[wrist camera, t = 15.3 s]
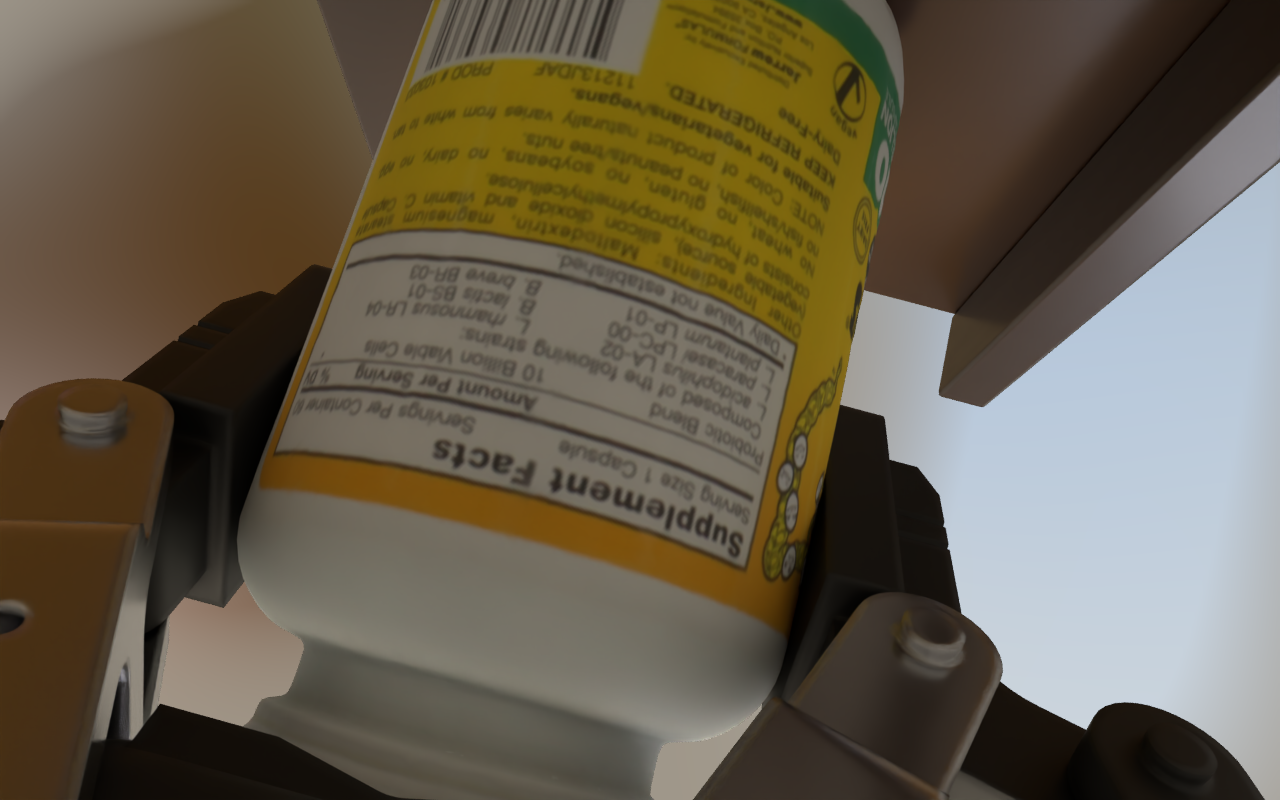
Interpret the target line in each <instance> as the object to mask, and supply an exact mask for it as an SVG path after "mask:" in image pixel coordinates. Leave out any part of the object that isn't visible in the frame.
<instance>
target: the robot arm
mask: <svg viewBox="0 0 1280 800" xmlns="http://www.w3.org/2000/svg"><path fill="white" fill-rule="evenodd" d="M331 272H332V269H331V268H327V267H323V266H319V265H315V264H314V265H311V266H310V267H309V268H308V269H306V270H305V271H304V272H303V273H302V274H300V275H299V276H298V277H297V278H295V279H294V280H293V281H292V282H291V283H289V284H288V285H287V286H286V287H285V288H284V289H282V290H281V291H280V292H279V293H277V294H276V295H274V294H270V293H266V292H263V291H259V292H256V293H252V294H249V295H246V296H243V297H239V298H236V299H233V300H230V301H227V302H223V303H222V304H220V305H219V306H218V307H216V308H215V309H214V310H213V311H212V312H210V313H209V314H207V315H206V316H205V317H203V318H202V319H201V320H200V321H199V322H198V326H196V325H193V326H192V327H191V328H189V329H188V330H187V331H185V332H184V333H183V334H181V335H180V336H179V339H178V341H172V342H171V343H170V344H168V345H167V346H166V347H165V348H163V349H162V350H161V351H159V352H158V353H157V354H155V355H154V356H153V357H152V358H151V359H149V360H148V361H147V362H145V363H144V364H143V365H141V366H140V367H139V368H138V369H136V370H135V371H133V372H132V373H131V374H130V375H128V376H127V377H126V378H124V379H123V380H122V381H120V380H111V379H94V378H93V379H92V378H91V379H75V380H68V381H62V382H57V383H53V384H49V385H46V386H43V387H40V388H38V389H36V390H33V391H31V392H29V393H27V394H26V395H24V396H23V397H21V398H20V399H19V400H18V401H17V402H16V403H14V404H13V406H12V407H11V409H10V411H9V413H8V415H7V417H6V419H5V420H0V800H426V799H410V798H399V797H394V796H390V795H387V794H384V793H382V792H380V791H378V790H376V789H374V788H372V787H370V786H369V785H367V784H365V783H363V782H361V781H359V780H358V779H356V778H354V777H352V776H350V775H348V774H347V773H345V772H343V771H341V770H339V769H337V768H336V767H334V766H332V765H330V764H328V763H326V762H324V761H323V760H321V759H319V758H317V757H315V756H313V755H312V754H310V753H308V752H306V751H304V750H302V749H301V748H299V747H297V746H295V745H293V744H291V743H289V742H288V741H286V740H284V739H282V738H280V737H278V736H275V735H271V734H267V733H264V732H260V731H257V730H253V729H249V728H246V727H242V726H239V725H235V724H231V723H227V722H224V721H221V720H217V719H213V718H210V717H206V716H202V715H199V714H195V713H191V712H188V711H184V710H181V709H177V708H174V707H170V706H166V705H163V704H160V705H159V706H158V702H159V695H160V690H161V684H162V678H163V672H164V666H165V660H166V655H167V649H168V643H169V615H170V614H171V613H172V611H173V610H174V609H175V608H176V607H177V605H178V604H179V603H180V602H181V601H182V599H183V598H184V597H186V598H190V599H194V600H197V601H201V602H204V603H208V604H212V605H215V606H219V607H223V608H224V607H225V606H226V604H227V603H228V602H229V600H230V599H231V598H232V596H233V595H234V594H235V593H236V591H237V590H238V589H239V588H240V586H241V585H242V584H243V582H244V579H243V576H242V572H241V568H240V565H239V560H238V548H237V535H238V527H239V519H240V515H241V512H242V509H243V506H244V504H245V501H246V498H247V495H248V493H249V490H250V487H251V484H252V481H253V479H254V476H255V473H256V470H257V468H258V465H259V462H260V459H261V457H262V454H263V451H264V448H265V446H266V443H267V441H268V438H269V436H270V433H271V431H272V428H273V425H274V423H275V420H276V418H277V415H278V413H279V410H280V408H281V405H282V402H283V400H284V397H285V394H286V392H287V389H288V386H289V384H290V381H291V378H292V376H293V373H294V370H295V368H296V365H297V363H298V360H299V357H300V355H301V352H302V349H303V347H304V344H305V341H306V339H307V336H308V333H309V331H310V328H311V325H312V323H313V320H314V317H315V315H316V312H317V309H318V307H319V304H320V301H321V299H322V296H323V293H324V291H325V288H326V285H327V283H328V280H329V277H330V274H331ZM943 525H944V517H943V512H942V507H941V501H940V496H939V494H938V493H937V492H936V490H935V489H934V488H933V486H932V485H931V484H930V483H929V481H928V480H927V479H926V477H925V476H924V475H923V474H922V472H921V471H920V470H919V469H918V468H917V467H915V466H911V465H907V464H904V463H899V462H896V461H892V460H889V452H888V443H887V435H886V425H885V419H884V417H883V416H881V415H877V414H873V413H869V412H865V411H861V410H858V409H854V408H851V407H847V406H843V405H840V406H839V411H838V416H837V421H836V426H835V431H834V435H833V440H832V445H831V449H830V454H829V459H828V463H827V468H826V473H825V477H824V482H823V489H822V494H821V498H820V501H819V506H818V512H817V517H816V521H815V524H814V528H813V533H812V537H811V541H810V545H809V550H808V554H807V559H806V564H805V569H804V574H803V579H802V583H801V587H800V592H799V596H798V601H797V605H796V609H795V614H794V618H793V623H792V627H791V632H790V637H789V641H788V646H787V650H786V653H785V657H784V661H783V664H782V668H781V671H780V673H779V676H778V678H777V681H776V683H775V685H774V686H773V688H772V690H771V691H770V693H769V695H768V696H767V698H766V699H765V700H764V702H763V703H762V710H761V711H760V713H759V714H758V715H757V716H756V718H755V719H754V720H753V722H752V723H751V724H750V726H749V727H748V728H747V730H746V731H745V732H744V734H743V735H742V736H741V737H740V739H739V740H738V742H737V743H736V744H735V745H734V747H733V748H732V749H731V751H730V752H729V753H728V754H727V756H726V757H725V758H724V760H723V761H722V762H721V764H720V765H719V766H718V768H717V769H716V770H715V772H714V773H713V774H712V776H711V777H710V778H709V779H708V781H707V782H706V783H705V785H704V786H703V788H702V789H701V790H700V791H699V793H698V794H697V795H696V797H695V798H694V799H693V800H1265V799H1264V798H1263V796H1262V795H1261V794H1260V792H1259V791H1258V789H1257V788H1256V786H1255V785H1254V783H1253V782H1252V780H1251V779H1250V777H1249V776H1248V774H1247V773H1246V771H1245V770H1244V769H1243V768H1242V766H1241V765H1240V764H1239V762H1238V761H1237V760H1236V759H1235V758H1234V757H1233V756H1232V755H1231V754H1230V753H1229V752H1228V750H1226V749H1225V748H1224V747H1223V746H1222V745H1221V744H1220V743H1218V742H1217V741H1216V740H1215V739H1213V738H1212V737H1211V736H1209V735H1208V734H1207V733H1205V732H1204V731H1202V730H1201V729H1199V728H1198V727H1196V726H1195V725H1193V724H1191V723H1189V722H1188V721H1186V720H1184V719H1182V718H1180V717H1178V716H1176V715H1174V714H1171V713H1169V712H1166V711H1164V710H1161V709H1158V708H1155V707H1151V706H1148V705H1143V704H1138V703H1125V702H1124V703H1114V704H1111V705H1108V706H1105V707H1104V708H1102V709H1100V710H1099V711H1098V712H1097V714H1096V715H1095V716H1094V717H1093V719H1092V721H1091V723H1090V724H1089V726H1088V728H1087V730H1085V729H1083V728H1081V727H1079V726H1077V725H1075V724H1073V723H1071V722H1069V721H1067V720H1065V719H1063V718H1061V717H1059V716H1057V715H1055V714H1053V713H1051V712H1049V711H1047V710H1045V709H1043V708H1041V707H1039V706H1037V705H1035V704H1033V703H1032V702H1029V701H1028V700H1026V699H1024V698H1022V697H1021V696H1020V695H1018V694H1016V693H1015V692H1013V691H1012V690H1010V689H1009V688H1008V687H1007V686H1005V685H1004V684H1003V683H1001V682H1000V680H1001V676H1002V673H1003V668H1002V661H1001V657H1000V654H999V653H998V651H997V649H996V647H995V645H994V644H993V642H992V641H991V640H990V638H989V637H988V636H987V635H986V634H985V633H984V632H983V631H982V630H981V628H979V627H978V626H977V625H976V624H975V623H973V622H972V621H971V620H970V619H968V618H967V617H965V616H964V615H962V614H961V608H960V603H959V598H958V592H957V587H956V582H955V576H954V571H953V565H952V560H951V555H950V550H948V549H947V548H948V539H947V533H946V528H945V527H943Z"/></svg>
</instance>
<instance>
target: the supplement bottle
mask: <svg viewBox="0 0 1280 800" xmlns="http://www.w3.org/2000/svg"><path fill="white" fill-rule="evenodd" d="M903 96H904V70H903V53H902V46H901V41H900V37H899V32H898V28H897V24H896V21H895V19H894V16H893V13H892V11H891V9H890V7H889V5H888V4H887V2H886V0H433V1H432V4H431V6H430V9H429V12H428V14H427V17H426V20H425V22H424V25H423V28H422V30H421V33H420V36H419V39H418V41H417V44H416V47H415V49H414V52H413V55H412V57H411V60H410V63H409V65H408V68H407V71H406V73H405V76H404V79H403V82H402V84H401V87H400V90H399V92H398V95H397V98H396V100H395V103H394V106H393V108H392V111H391V114H390V116H389V119H388V122H387V124H386V127H385V130H384V132H383V135H382V138H381V140H380V143H379V146H378V148H377V151H376V154H375V156H374V159H373V162H372V164H371V167H370V170H369V172H368V175H367V178H366V180H365V183H364V186H363V189H362V191H361V194H360V197H359V199H358V202H357V205H356V207H355V210H354V213H353V216H352V218H351V221H350V224H349V226H348V229H347V232H346V234H345V237H344V240H343V242H342V245H341V248H340V250H339V253H338V256H337V258H336V261H335V264H334V267H333V269H332V272H331V274H330V277H329V280H328V283H327V285H326V288H325V291H324V293H323V296H322V299H321V301H320V304H319V307H318V309H317V312H316V315H315V317H314V320H313V323H312V325H311V328H310V331H309V333H308V336H307V339H306V341H305V344H304V347H303V349H302V352H301V355H300V357H299V360H298V363H297V365H296V368H295V370H294V373H293V376H292V378H291V381H290V384H289V386H288V389H287V392H286V394H285V397H284V400H283V402H282V405H281V408H280V410H279V413H278V415H277V418H276V420H275V423H274V425H273V428H272V431H271V433H270V436H269V438H268V441H267V443H266V446H265V448H264V451H263V454H262V457H261V459H260V462H259V465H258V468H257V470H256V473H255V476H254V479H253V481H252V484H251V487H250V490H249V493H248V495H247V498H246V501H245V504H244V506H243V509H242V512H241V515H240V519H239V527H238V535H237V548H238V560H239V565H240V568H241V572H242V576H243V579H244V581H245V583H246V585H247V587H248V590H249V592H250V594H251V595H252V597H253V599H254V600H255V601H256V603H257V605H258V606H259V608H260V609H261V610H262V611H263V612H264V613H265V614H266V616H267V617H268V618H269V619H270V620H271V621H272V622H274V623H275V624H276V625H278V626H279V627H281V628H283V629H284V630H286V631H288V632H290V633H291V634H293V635H295V636H297V637H298V638H299V639H301V640H302V642H303V644H304V651H303V654H302V657H301V660H300V663H299V666H298V669H297V672H296V675H295V677H294V680H293V683H292V686H291V687H290V689H289V691H288V692H287V693H286V694H285V695H282V696H277V697H268V698H265V699H262V700H261V702H260V703H259V705H258V707H257V709H256V711H255V714H254V716H253V717H252V719H251V720H250V721H249V722H248V723H247V724H246V725H244V726H243V727H246V728H249V729H253V730H257V731H260V732H264V733H267V734H271V735H275V736H278V737H280V738H282V739H284V740H286V741H288V742H289V743H291V744H293V745H295V746H297V747H299V748H301V749H302V750H304V751H306V752H308V753H310V754H312V755H313V756H315V757H317V758H319V759H321V760H323V761H324V762H326V763H328V764H330V765H332V766H334V767H336V768H337V769H339V770H341V771H343V772H345V773H347V774H348V775H350V776H352V777H354V778H356V779H358V780H359V781H361V782H363V783H365V784H367V785H369V786H370V787H372V788H374V789H376V790H378V791H380V792H382V793H384V794H387V795H390V796H394V797H399V798H410V799H426V800H653V798H652V797H651V796H650V791H651V784H652V779H653V775H654V770H655V766H656V762H657V757H658V754H659V752H660V750H661V748H662V746H663V745H664V744H666V743H669V742H692V741H702V740H706V739H709V738H713V737H715V736H718V735H720V734H723V733H725V732H727V731H729V730H730V729H732V728H734V727H736V726H737V725H739V724H741V723H742V722H743V721H745V720H746V719H747V718H748V717H750V716H751V715H752V714H753V713H754V712H755V711H756V710H757V709H758V708H759V706H760V705H761V704H762V703H763V702H764V700H765V699H766V698H767V696H768V695H769V693H770V691H771V690H772V688H773V686H774V685H775V683H776V681H777V678H778V676H779V673H780V671H781V668H782V664H783V661H784V657H785V653H786V650H787V646H788V641H789V637H790V632H791V627H792V623H793V618H794V614H795V609H796V605H797V601H798V596H799V592H800V587H801V583H802V579H803V574H804V569H805V564H806V559H807V554H808V550H809V545H810V541H811V537H812V533H813V528H814V524H815V521H816V517H817V512H818V506H819V501H820V498H821V494H822V489H823V482H824V477H825V473H826V468H827V463H828V459H829V454H830V449H831V445H832V440H833V435H834V431H835V426H836V421H837V416H838V411H839V406H840V401H841V397H842V392H843V386H844V382H845V377H846V372H847V367H848V361H849V355H850V350H851V344H852V341H853V337H854V334H855V329H856V323H857V318H858V313H859V309H860V305H861V301H862V296H863V292H864V287H865V283H866V279H867V276H868V272H869V267H870V260H871V255H872V250H873V246H874V242H875V238H876V233H877V229H878V225H879V221H880V217H881V212H882V206H883V201H884V197H885V193H886V189H887V184H888V180H889V174H890V167H891V162H892V158H893V154H894V151H895V144H896V135H897V131H898V127H899V121H900V116H901V111H902V106H903Z"/></svg>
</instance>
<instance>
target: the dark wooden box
mask: <svg viewBox="0 0 1280 800" xmlns="http://www.w3.org/2000/svg"><path fill="white" fill-rule="evenodd" d="M432 1H433V0H317V2H318V5H319V8H320V11H321V13H322V16H323V19H324V22H325V25H326V28H327V31H328V33H329V36H330V39H331V42H332V45H333V48H334V50H335V54H336V56H337V59H338V62H339V65H340V68H341V70H342V74H343V76H344V79H345V82H346V85H347V88H348V91H349V93H350V96H351V99H352V102H353V105H354V108H355V111H356V114H357V116H358V119H359V122H360V125H361V128H362V131H363V133H364V136H365V139H366V142H367V145H368V148H369V151H370V153H371V156H372V159H374V156H375V154H376V151H377V148H378V146H379V143H380V140H381V138H382V135H383V132H384V130H385V127H386V124H387V122H388V119H389V116H390V114H391V111H392V108H393V106H394V103H395V100H396V98H397V95H398V92H399V90H400V87H401V84H402V82H403V79H404V76H405V73H406V71H407V68H408V65H409V63H410V60H411V57H412V55H413V52H414V49H415V47H416V44H417V41H418V39H419V36H420V33H421V30H422V28H423V25H424V22H425V20H426V17H427V14H428V12H429V9H430V6H431V4H432ZM886 2H887V4H888V5H889V7H890V9H891V11H892V13H893V16H894V19H895V21H896V24H897V28H898V32H899V37H900V41H901V46H902V53H903V70H904V96H903V106H902V111H901V116H900V121H899V127H898V131H897V135H896V144H895V151H894V154H893V158H892V162H891V167H890V174H889V180H888V184H887V189H886V193H885V197H884V201H883V206H882V212H881V217H880V221H879V225H878V229H877V233H876V238H875V242H874V246H873V250H872V255H871V260H870V267H869V272H868V276H867V279H866V283H865V287H864V290H866V291H869V292H873V293H877V294H881V295H885V296H888V297H892V298H896V299H900V300H904V301H908V302H911V303H915V304H919V305H923V306H927V307H930V308H935V309H938V310H942V311H946V312H949V313H953V314H955V315H954V316H953V318H952V323H951V328H950V333H949V339H948V344H947V350H946V355H945V361H944V366H943V371H942V377H941V382H940V387H939V395H940V396H941V397H945V398H949V399H952V400H956V401H960V402H964V403H968V404H971V405H975V406H979V407H984V406H985V405H987V404H988V403H989V402H990V401H991V400H993V399H994V398H995V397H996V396H998V395H999V394H1000V393H1001V392H1003V391H1004V390H1005V389H1006V388H1007V387H1009V386H1010V385H1011V384H1012V383H1013V382H1015V381H1016V380H1017V379H1018V378H1019V377H1021V376H1022V375H1023V374H1024V373H1025V372H1027V371H1028V370H1029V369H1030V368H1032V367H1033V366H1034V365H1035V364H1036V363H1038V361H1040V360H1041V359H1042V358H1044V357H1045V356H1046V355H1047V354H1048V353H1050V352H1051V351H1052V350H1053V349H1054V348H1056V347H1057V346H1058V345H1059V344H1060V343H1062V342H1063V341H1064V340H1065V339H1067V338H1068V337H1069V336H1070V335H1071V334H1072V333H1074V332H1075V331H1076V330H1077V329H1079V328H1080V327H1081V326H1082V325H1083V324H1085V323H1086V322H1087V321H1088V320H1089V319H1091V318H1092V317H1093V316H1094V315H1096V314H1097V313H1098V312H1099V311H1100V310H1101V309H1103V308H1104V307H1105V306H1106V305H1107V304H1109V303H1110V302H1111V301H1112V300H1114V299H1115V298H1116V297H1117V296H1118V295H1120V294H1121V293H1122V292H1123V291H1124V290H1126V289H1127V288H1128V287H1129V286H1131V285H1132V284H1133V283H1134V282H1135V281H1136V280H1138V279H1139V278H1140V277H1141V276H1143V275H1144V274H1145V273H1146V272H1147V271H1149V269H1151V268H1152V267H1153V266H1155V265H1156V264H1157V263H1158V262H1159V261H1161V260H1162V259H1163V258H1164V257H1165V256H1167V255H1168V254H1169V253H1170V252H1172V251H1173V250H1174V249H1175V248H1176V247H1177V246H1179V245H1180V244H1181V243H1182V242H1184V241H1185V240H1186V239H1187V238H1188V237H1190V236H1191V235H1192V234H1193V233H1195V232H1196V231H1197V230H1198V229H1199V228H1201V227H1202V226H1203V225H1204V224H1205V223H1207V222H1208V221H1209V220H1210V219H1211V218H1213V217H1214V216H1215V215H1216V214H1217V213H1219V212H1220V211H1221V210H1222V209H1223V208H1225V207H1226V206H1227V205H1228V204H1229V203H1231V202H1232V201H1233V200H1234V199H1235V198H1237V197H1238V196H1239V195H1240V194H1242V193H1243V192H1244V191H1245V190H1246V189H1248V188H1249V187H1250V186H1251V185H1252V184H1254V183H1255V182H1256V181H1257V180H1258V179H1260V178H1261V177H1262V176H1263V175H1265V174H1266V173H1267V172H1268V171H1269V170H1271V169H1272V168H1273V167H1274V166H1275V165H1276V164H1278V163H1279V162H1280V0H886Z"/></svg>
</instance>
